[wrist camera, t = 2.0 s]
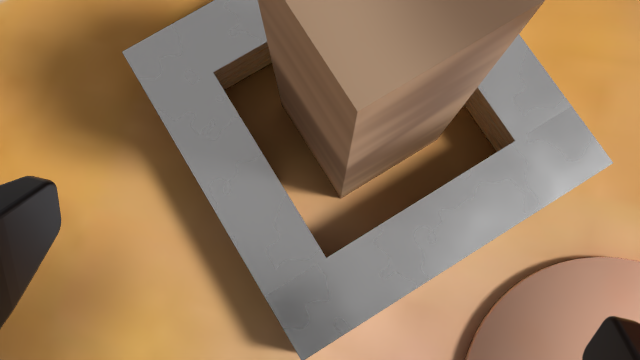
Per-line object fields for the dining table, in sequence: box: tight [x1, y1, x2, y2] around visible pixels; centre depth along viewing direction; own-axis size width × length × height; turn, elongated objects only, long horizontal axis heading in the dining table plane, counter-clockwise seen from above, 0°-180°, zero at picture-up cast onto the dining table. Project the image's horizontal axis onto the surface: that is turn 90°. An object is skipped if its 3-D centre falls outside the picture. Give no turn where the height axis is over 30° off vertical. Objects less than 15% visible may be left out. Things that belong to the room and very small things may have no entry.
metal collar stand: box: [122, 0, 613, 360], centre depth 21 cm, size 13×13×2 cm
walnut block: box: [258, 0, 545, 198], centre depth 17 cm, size 4×4×11 cm
